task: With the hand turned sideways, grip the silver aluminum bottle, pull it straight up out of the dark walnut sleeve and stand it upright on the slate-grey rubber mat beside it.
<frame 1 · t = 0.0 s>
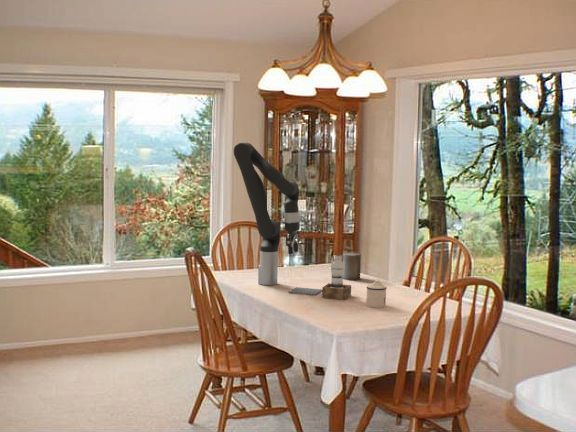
hand: (293, 252, 364), 17 cm above the table, tool pointing down, fingers open, 8 cm apart
teacup with lid: (374, 305, 327), on the table
walnut sleeve: (336, 296, 343), on the table
pillar candle: (351, 278, 389), on the table
rubber mat: (305, 291, 352), on the table
silver aluminum bottle: (336, 296, 343), resting in walnut sleeve
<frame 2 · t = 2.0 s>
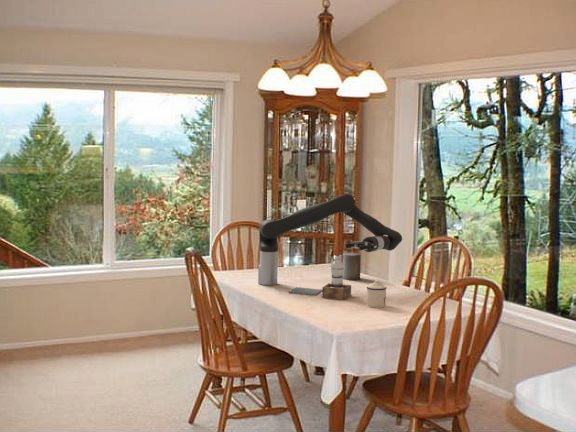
hand: (352, 247, 348), 23 cm above the table, tool horizontal, fingers open, 8 cm apart
nothing on the table moved.
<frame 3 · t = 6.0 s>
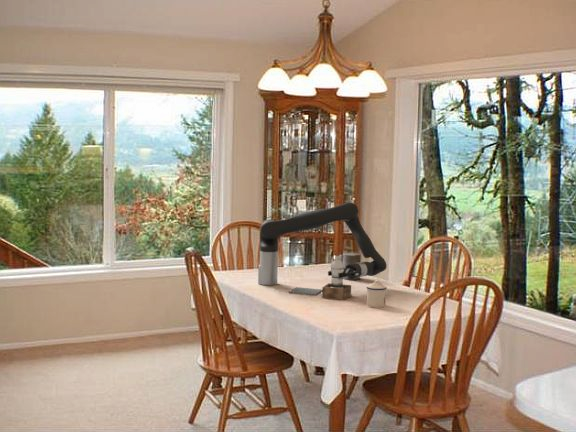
hand: (334, 274, 340), 11 cm above the table, tool horizontal, fingers closed on silver aluminum bottle, 6 cm apart
silver aluminum bottle: (336, 296, 343), resting in walnut sleeve, touching gripper
everything else where it was.
when the fingers open (13 cm above the table, at t = 11.5 s): silver aluminum bottle drops 1 cm, resting on rubber mat.
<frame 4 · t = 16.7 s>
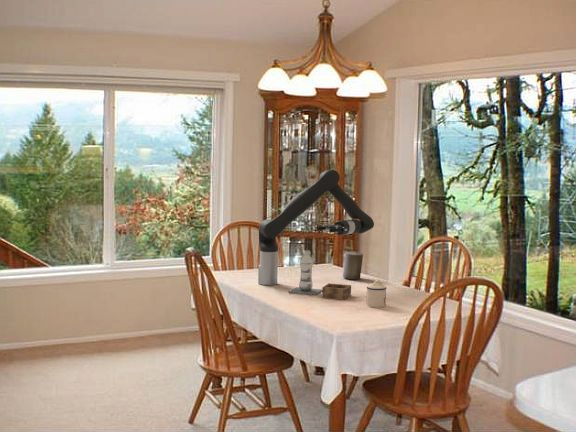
hand: (323, 229, 358), 30 cm above the table, tool horizontal, fingers open, 8 cm apart
silver aluminum bottle: (305, 290, 352), resting on rubber mat
at the end: silver aluminum bottle inside the target area (0.2 cm from its centre), resting on rubber mat; silver aluminum bottle tilted 0°; the gripper is holding nothing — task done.
